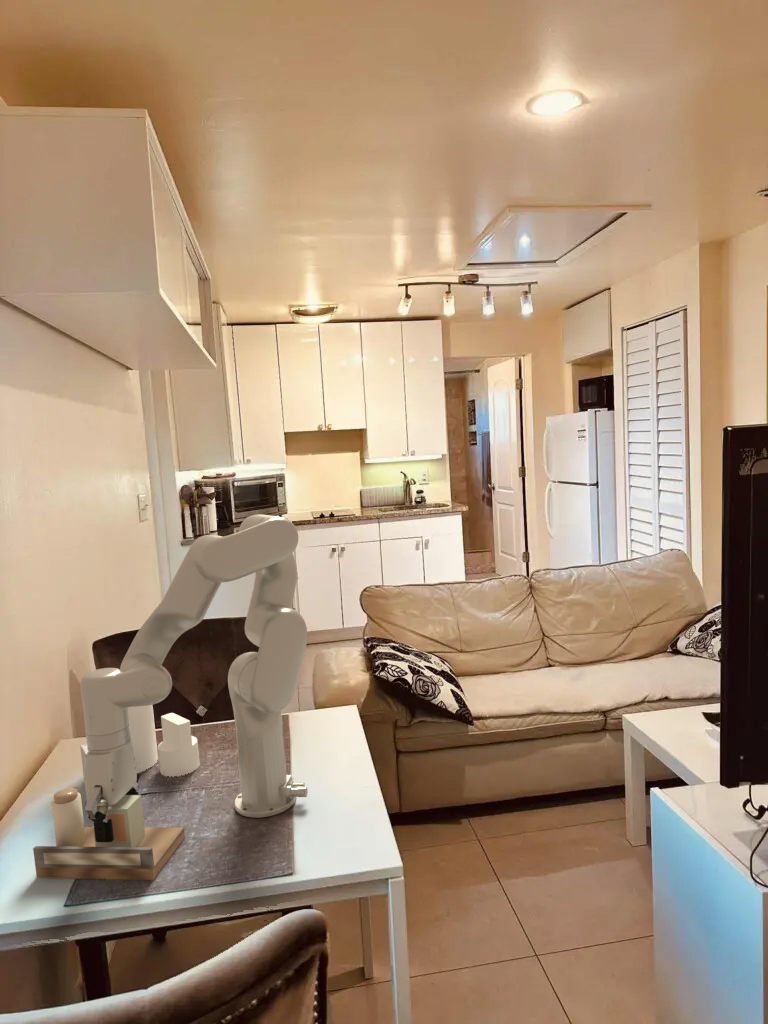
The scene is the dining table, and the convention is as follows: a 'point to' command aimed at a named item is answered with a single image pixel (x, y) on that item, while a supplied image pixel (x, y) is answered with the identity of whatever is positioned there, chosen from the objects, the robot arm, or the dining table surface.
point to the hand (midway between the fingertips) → (118, 826)
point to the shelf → (110, 857)
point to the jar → (68, 818)
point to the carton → (125, 822)
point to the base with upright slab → (177, 747)
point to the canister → (143, 735)
